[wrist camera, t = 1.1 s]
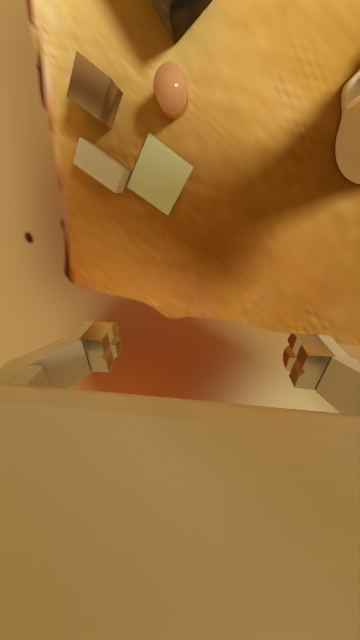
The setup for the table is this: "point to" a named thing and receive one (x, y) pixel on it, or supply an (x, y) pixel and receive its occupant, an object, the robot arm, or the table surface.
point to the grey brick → (100, 166)
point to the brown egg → (171, 90)
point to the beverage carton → (179, 14)
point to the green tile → (159, 175)
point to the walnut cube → (94, 91)
